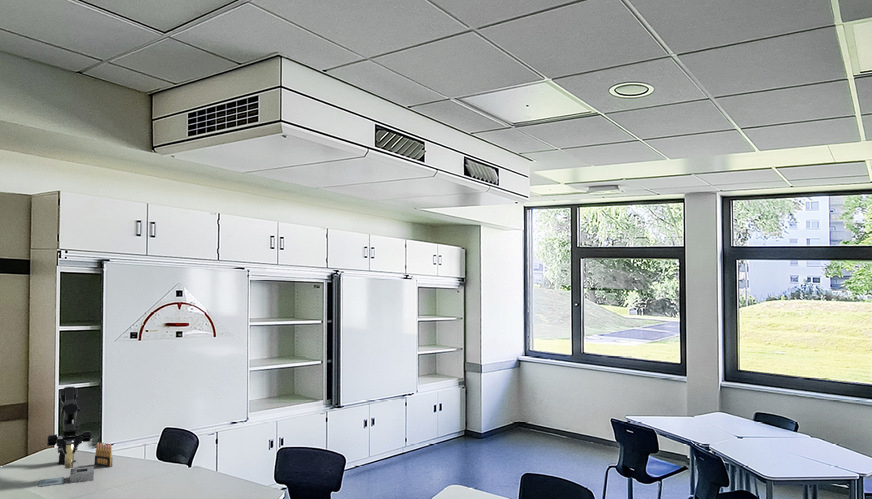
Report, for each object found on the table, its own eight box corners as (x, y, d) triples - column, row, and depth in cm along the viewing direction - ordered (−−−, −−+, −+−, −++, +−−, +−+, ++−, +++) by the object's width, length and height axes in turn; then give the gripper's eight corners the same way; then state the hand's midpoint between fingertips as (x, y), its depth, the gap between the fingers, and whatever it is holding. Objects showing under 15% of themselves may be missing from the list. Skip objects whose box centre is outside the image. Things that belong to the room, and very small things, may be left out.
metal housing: (70, 477, 313) (70, 468, 313) (93, 474, 318) (93, 466, 318) (69, 483, 304) (70, 474, 304) (93, 480, 309) (93, 471, 309)
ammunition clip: (112, 466, 331) (113, 443, 331) (109, 467, 329) (110, 444, 330) (97, 464, 335) (98, 441, 335) (94, 465, 333) (95, 442, 333)
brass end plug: (70, 465, 311) (71, 439, 311) (75, 467, 309) (76, 440, 309) (62, 467, 307) (63, 440, 308) (67, 469, 305) (68, 442, 306)
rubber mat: (40, 480, 307) (40, 479, 307) (64, 477, 312) (64, 476, 312) (38, 486, 298) (39, 486, 298) (63, 483, 303) (63, 482, 303)
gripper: (48, 418, 307) (47, 447, 298) (91, 414, 317) (92, 442, 307) (47, 431, 314) (46, 459, 304) (90, 427, 324) (90, 454, 314)
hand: (69, 453), depth 307 cm, fingers closed on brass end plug, 4 cm apart
